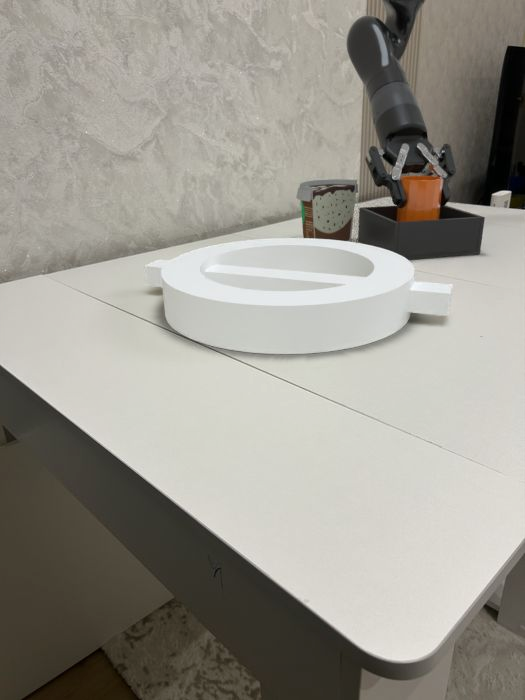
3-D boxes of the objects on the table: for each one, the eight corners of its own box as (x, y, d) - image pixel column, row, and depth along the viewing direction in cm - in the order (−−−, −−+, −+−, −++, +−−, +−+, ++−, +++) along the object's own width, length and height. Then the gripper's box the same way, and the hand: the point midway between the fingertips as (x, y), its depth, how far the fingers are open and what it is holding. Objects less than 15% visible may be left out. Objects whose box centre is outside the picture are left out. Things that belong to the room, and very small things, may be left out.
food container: (328, 235, 98) (329, 177, 94) (356, 240, 94) (358, 179, 90) (280, 247, 90) (280, 184, 86) (308, 253, 86) (309, 187, 82)
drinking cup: (424, 231, 91) (430, 174, 87) (444, 239, 85) (450, 179, 82) (388, 233, 90) (392, 176, 86) (405, 241, 84) (411, 181, 81)
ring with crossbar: (141, 289, 71) (137, 252, 69) (331, 262, 80) (332, 230, 79) (210, 376, 47) (206, 325, 45) (466, 324, 57) (472, 280, 55)
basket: (434, 235, 96) (437, 202, 94) (479, 254, 83) (485, 217, 81) (357, 240, 93) (359, 207, 91) (392, 261, 81) (395, 222, 78)
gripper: (362, 102, 85) (388, 190, 79) (447, 100, 88) (478, 186, 82) (349, 137, 92) (372, 221, 86) (428, 135, 95) (455, 215, 89)
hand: (424, 203), depth 84 cm, fingers closed on drinking cup, 6 cm apart
